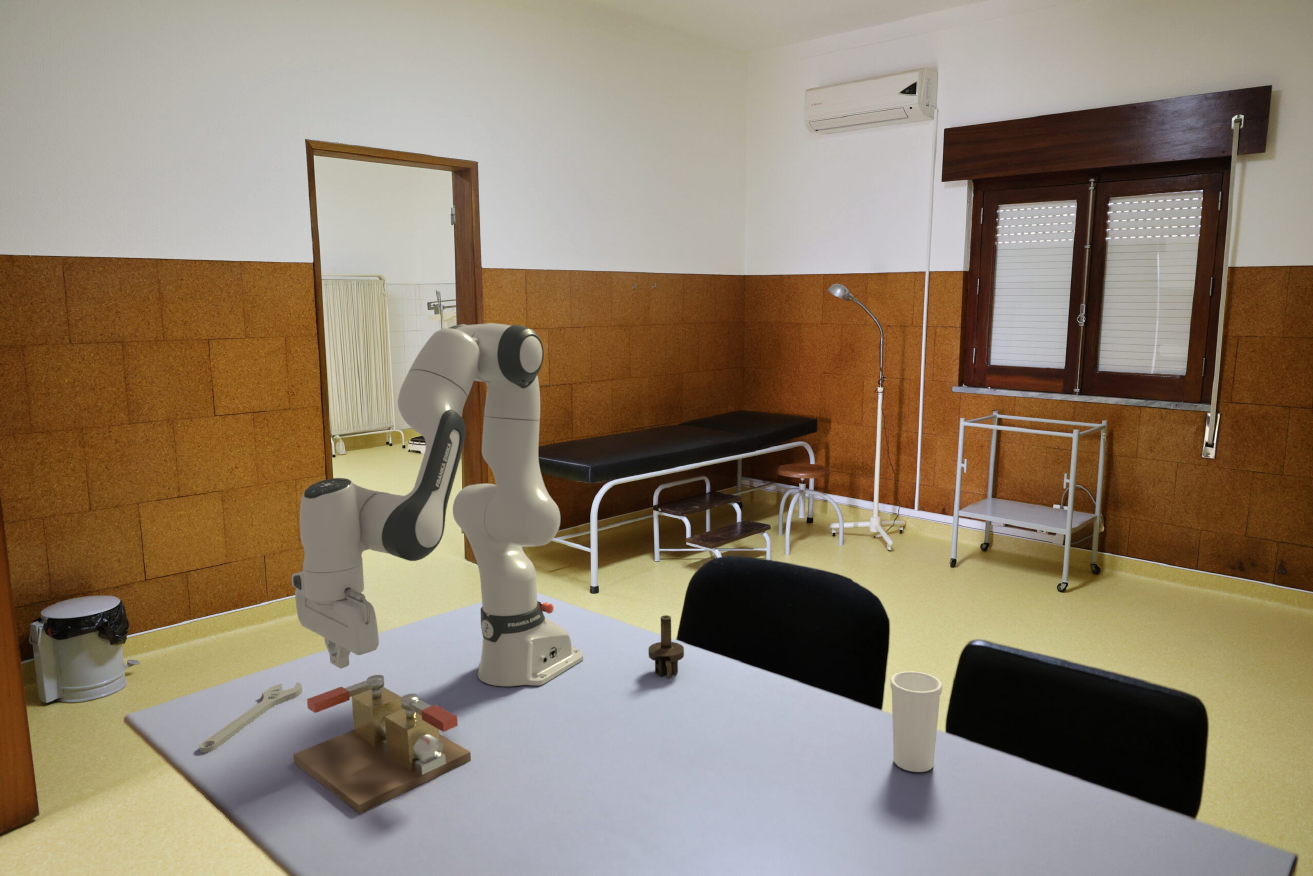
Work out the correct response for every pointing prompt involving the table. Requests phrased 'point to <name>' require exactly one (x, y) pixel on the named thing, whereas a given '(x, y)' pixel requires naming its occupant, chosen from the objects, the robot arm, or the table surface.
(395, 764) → the base board
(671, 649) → the industrial component
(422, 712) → the pipe manifold
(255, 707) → the adjustable wrench
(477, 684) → the table surface
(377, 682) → the valve lever
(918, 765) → the cup
